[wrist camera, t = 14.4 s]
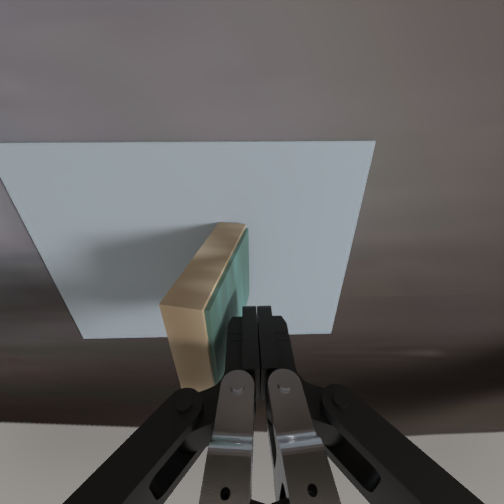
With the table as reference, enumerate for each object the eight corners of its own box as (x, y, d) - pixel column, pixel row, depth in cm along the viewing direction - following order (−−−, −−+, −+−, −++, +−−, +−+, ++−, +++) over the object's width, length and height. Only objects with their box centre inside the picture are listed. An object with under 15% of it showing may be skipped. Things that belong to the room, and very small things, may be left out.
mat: (372, 139, 15) (375, 140, 14) (329, 330, 23) (330, 333, 23) (-11, 142, 14) (-18, 143, 14) (86, 335, 23) (83, 338, 22)
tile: (249, 224, 16) (207, 310, 10) (250, 294, 19) (218, 397, 13) (219, 222, 17) (158, 304, 10) (224, 291, 20) (181, 390, 13)
